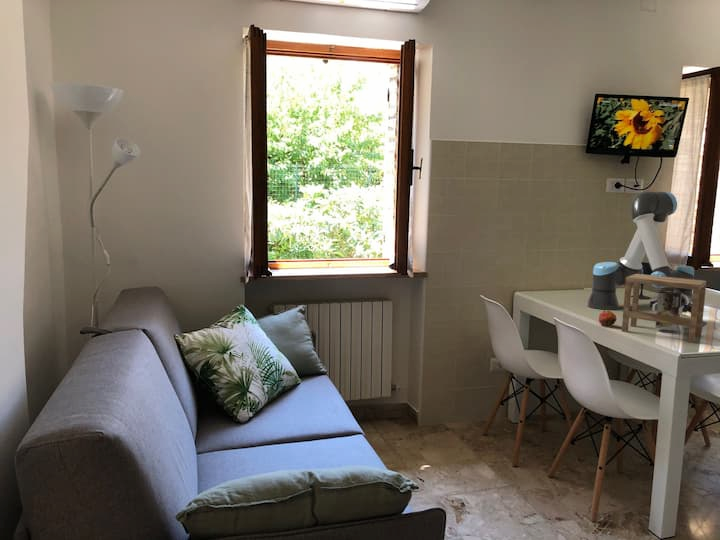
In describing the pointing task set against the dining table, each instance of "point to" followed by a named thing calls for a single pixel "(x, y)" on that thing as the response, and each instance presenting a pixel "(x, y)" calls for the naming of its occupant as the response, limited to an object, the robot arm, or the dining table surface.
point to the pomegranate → (607, 318)
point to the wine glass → (646, 271)
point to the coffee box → (668, 308)
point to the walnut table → (693, 322)
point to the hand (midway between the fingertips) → (666, 309)
